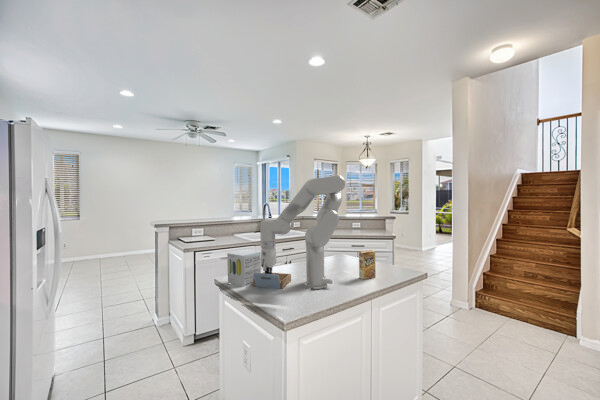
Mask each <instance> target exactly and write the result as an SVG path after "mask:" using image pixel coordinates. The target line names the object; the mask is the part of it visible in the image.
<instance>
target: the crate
mask: <svg viewBox="0 0 600 400" xmlns="http://www.w3.org/2000/svg"><path fill="white" fill-rule="evenodd" d="M262 273H264V274H265V271H263V272H262ZM272 274H278V275H279V278H280V284H281V289H280V290H283V289H285V287H286V286H287V285H288V284H289V283H291V281H292V273H286V272H285V273H283V272H272ZM253 287H256V284H255V279H254V283H253ZM256 288H257V287H256Z"/></svg>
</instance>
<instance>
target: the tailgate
mask: <svg viewBox="0 0 600 400" xmlns="http://www.w3.org/2000/svg"><path fill="white" fill-rule="evenodd" d="M253 275H254V279H255V284H256V288H267V289H276V290H277V289H279V290H282V289H281V284H280V278H279V275H278V274H264V273H263V272H261V273H254V274H253Z"/></svg>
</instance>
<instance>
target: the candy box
mask: <svg viewBox="0 0 600 400" xmlns="http://www.w3.org/2000/svg"><path fill="white" fill-rule="evenodd" d="M358 272H359V273H358V275H359V277H358V278H359V279H361V280H366V279H375V278H376V277H377V275H376V251H375V250H365V251H364V250H362V251H358Z"/></svg>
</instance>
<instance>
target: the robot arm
mask: <svg viewBox="0 0 600 400" xmlns="http://www.w3.org/2000/svg"><path fill="white" fill-rule="evenodd" d="M345 187H346V180H345V178H344V177H343V176H342V175H338V174H336V175H331V176H325V177H317V178H312V179H311V178H310V179H309V180H308V179H307V180H306V182H305V183H304V184H303V186H302V187H301V188H300V190H299V191H298V192H297V193H296V195H295V196H294V197H293V199H292V200H291V201H290V202H289V203H288V205H287V206H285V208H284V209H283V210H282V212H281V213H280V214H279V215H278V217H277V218H276V219H275V220H273V219H265V220H264V219H263V220H261V221H260V223H259V225H260V227H259V228H260V230H259V231H260V248H261V250H260V252H261V268H262V271H263V272H265V274H272V273H273V267H274V266H276V265H277V251H276V235H287V234H289V233H290V231H291V229H292V227H291V223H292V222H293V221H294V219H295V218H296V217H298V215H300V214H302V213H304V212H305V211H306V210H307V208H308V207H309V206H310V204H311V203H312V201H314V200H315V197H316V196H322V195H326V198H325V200H324V202H323V204H322V206H321V207H320V210H319V211H318V213H317V214H316V218H315V220H316V225H313V226H309V227H308V228H307V229H306V231H305V233H304V234H305V235H304V240H305V254H306V255H305V258H306V259H305V260H306V261H305V262H306V269H305V270H306V272H305V273H306V280H305V281H304V282H303V285H304V286H306V287H309V288H311V290H321V289H325V288H327V287H328V284H329V285H333V280H332V279H330V278H327V276H326V275H325V246H326V245H328V242H330V240H331V238H332V236H333V234H334V232H335V231H336V229H337V228H338V227H337V226H338V225H339V221H340V216H339V214H338V211H339V209H340V207H341V204H342V202H343V192H342V191H343V190H344V189H345Z"/></svg>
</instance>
